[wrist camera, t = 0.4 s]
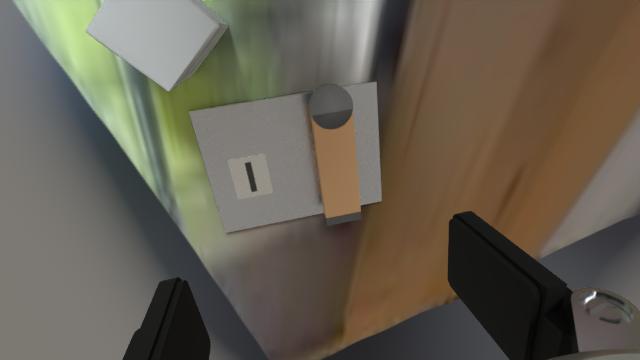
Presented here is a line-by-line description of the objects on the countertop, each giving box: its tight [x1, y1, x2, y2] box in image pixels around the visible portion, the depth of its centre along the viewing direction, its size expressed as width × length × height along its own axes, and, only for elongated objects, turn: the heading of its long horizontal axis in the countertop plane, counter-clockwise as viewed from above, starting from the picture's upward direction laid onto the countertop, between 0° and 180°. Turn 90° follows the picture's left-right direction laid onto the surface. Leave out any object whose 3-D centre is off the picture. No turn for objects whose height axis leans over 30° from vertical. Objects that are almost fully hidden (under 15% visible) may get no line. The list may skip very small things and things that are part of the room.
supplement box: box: [86, 0, 228, 92], centre depth 31 cm, size 7×7×13 cm
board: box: [189, 81, 382, 233], centre depth 44 cm, size 18×24×3 cm
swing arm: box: [309, 84, 362, 226], centre depth 42 cm, size 19×5×2 cm, turn 7°
